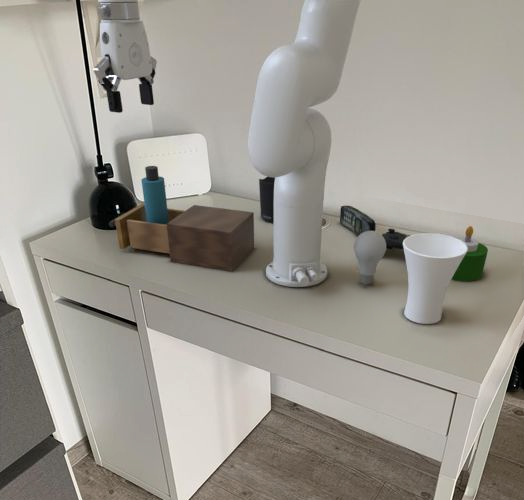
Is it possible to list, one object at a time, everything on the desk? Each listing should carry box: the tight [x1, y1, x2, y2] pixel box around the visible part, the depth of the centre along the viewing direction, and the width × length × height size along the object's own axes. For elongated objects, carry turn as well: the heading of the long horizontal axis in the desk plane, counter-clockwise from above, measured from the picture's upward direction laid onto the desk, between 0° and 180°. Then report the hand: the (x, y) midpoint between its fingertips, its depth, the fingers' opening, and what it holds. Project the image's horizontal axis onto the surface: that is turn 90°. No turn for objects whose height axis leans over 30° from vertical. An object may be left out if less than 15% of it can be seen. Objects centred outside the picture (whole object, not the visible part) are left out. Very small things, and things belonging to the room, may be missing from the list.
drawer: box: [108, 202, 185, 255], centre depth 124 cm, size 17×11×7 cm, turn 69°
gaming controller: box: [381, 228, 412, 251], centre depth 118 cm, size 14×6×10 cm
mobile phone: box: [339, 205, 377, 237], centre depth 130 cm, size 5×3×15 cm
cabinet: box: [167, 204, 255, 272], centre depth 119 cm, size 15×13×9 cm
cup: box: [403, 232, 468, 325], centre depth 95 cm, size 10×10×14 cm
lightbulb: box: [353, 230, 387, 286], centre depth 106 cm, size 6×6×11 cm
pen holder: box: [258, 176, 275, 224], centre depth 138 cm, size 9×9×10 cm
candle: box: [451, 225, 489, 282], centre depth 110 cm, size 8×8×10 cm
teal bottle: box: [141, 165, 169, 225], centre depth 120 cm, size 5×5×16 cm
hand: (132, 108), depth 116 cm, fingers open, 9 cm apart
